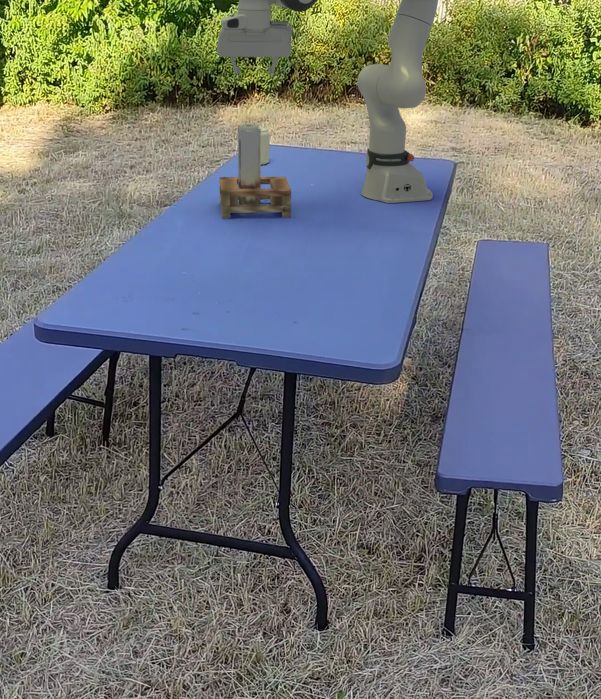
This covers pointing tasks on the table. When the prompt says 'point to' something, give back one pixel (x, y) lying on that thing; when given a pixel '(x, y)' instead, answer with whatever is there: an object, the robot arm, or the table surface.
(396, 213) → the table surface
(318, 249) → the table surface
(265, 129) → the beverage can
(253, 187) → the silver metal cylinder
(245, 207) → the frame
